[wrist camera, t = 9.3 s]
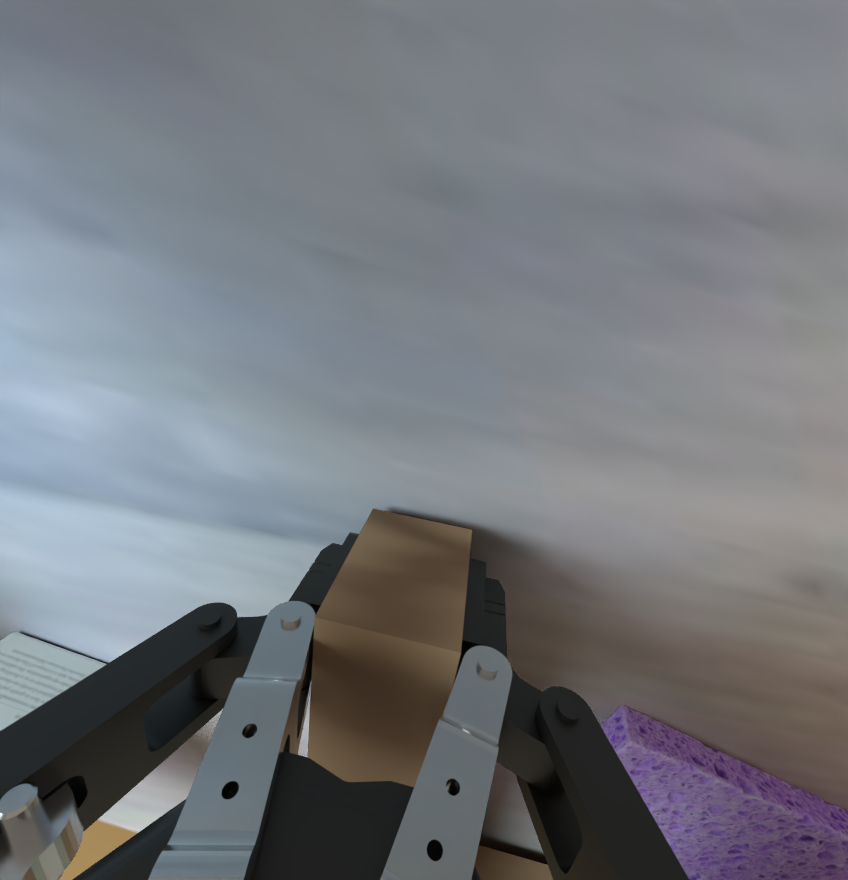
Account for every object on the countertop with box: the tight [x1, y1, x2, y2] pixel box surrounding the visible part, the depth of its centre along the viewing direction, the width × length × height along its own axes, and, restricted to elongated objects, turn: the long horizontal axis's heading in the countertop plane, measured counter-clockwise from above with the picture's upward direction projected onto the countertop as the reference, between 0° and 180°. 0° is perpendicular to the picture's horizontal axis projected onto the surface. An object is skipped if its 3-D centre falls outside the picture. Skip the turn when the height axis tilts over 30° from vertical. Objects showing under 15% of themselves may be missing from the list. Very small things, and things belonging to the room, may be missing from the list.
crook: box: [308, 509, 553, 880], centre depth 15 cm, size 14×20×5 cm
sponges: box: [601, 705, 848, 880], centre depth 17 cm, size 7×13×2 cm, turn 67°
